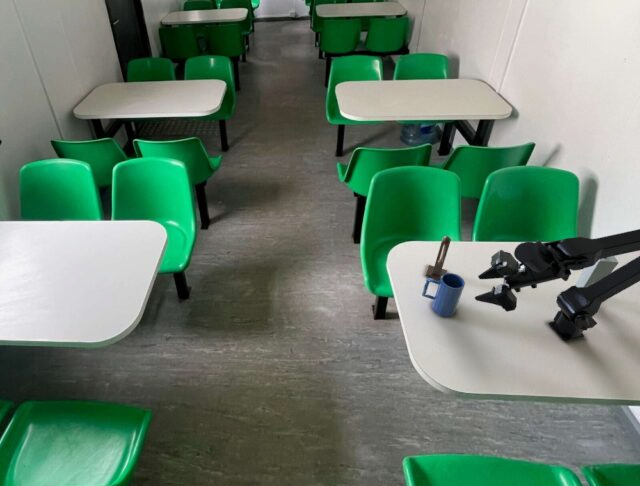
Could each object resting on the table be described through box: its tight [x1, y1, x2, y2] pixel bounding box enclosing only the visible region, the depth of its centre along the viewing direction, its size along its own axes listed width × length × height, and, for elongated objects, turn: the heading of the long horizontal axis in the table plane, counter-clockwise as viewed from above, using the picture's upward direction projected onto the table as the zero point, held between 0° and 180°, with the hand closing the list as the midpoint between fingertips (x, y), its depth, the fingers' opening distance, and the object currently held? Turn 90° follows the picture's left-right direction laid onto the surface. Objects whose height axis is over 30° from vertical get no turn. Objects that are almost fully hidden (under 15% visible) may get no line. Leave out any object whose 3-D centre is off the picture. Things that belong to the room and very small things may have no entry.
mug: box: [421, 272, 466, 318], centre depth 128 cm, size 10×6×12 cm, turn 61°
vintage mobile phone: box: [574, 256, 619, 287], centre depth 126 cm, size 4×5×25 cm
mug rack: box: [425, 235, 452, 281], centre depth 135 cm, size 6×14×17 cm, turn 151°
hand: (477, 288), depth 121 cm, fingers open, 9 cm apart
